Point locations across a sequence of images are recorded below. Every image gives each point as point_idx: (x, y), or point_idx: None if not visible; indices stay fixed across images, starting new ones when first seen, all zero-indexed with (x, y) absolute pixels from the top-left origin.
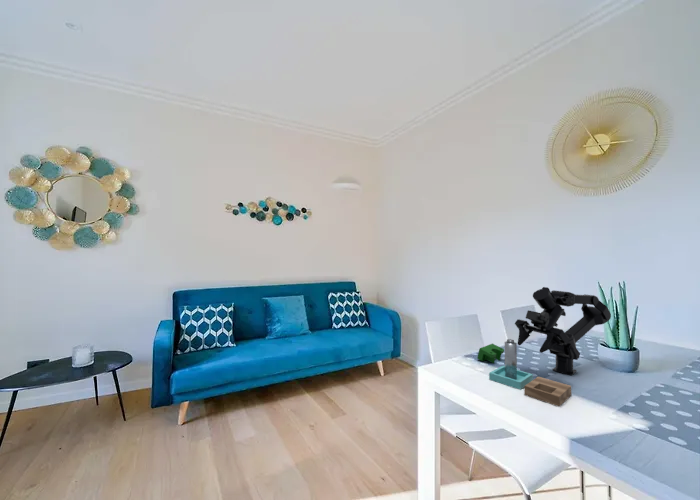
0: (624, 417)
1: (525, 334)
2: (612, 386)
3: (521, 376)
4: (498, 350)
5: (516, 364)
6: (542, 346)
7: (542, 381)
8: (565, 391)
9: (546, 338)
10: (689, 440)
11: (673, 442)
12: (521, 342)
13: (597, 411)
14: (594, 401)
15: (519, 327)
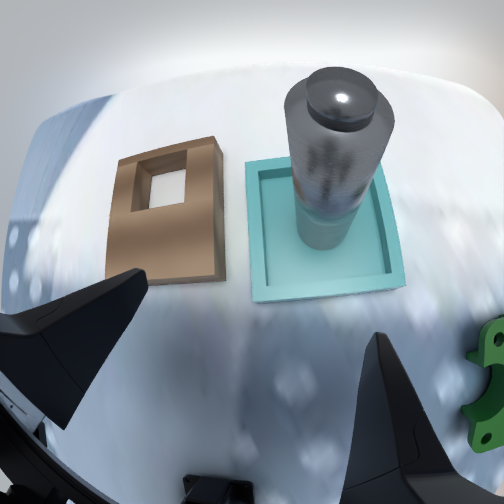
0: (45, 254)
1: (364, 495)
2: (91, 449)
3: (299, 278)
4: (489, 417)
5: (294, 200)
6: (104, 286)
7: (181, 232)
8: (110, 217)
9: (33, 332)
10: (6, 252)
11: (16, 224)
12: (364, 380)
13: (74, 233)
14: None
15: (475, 499)
